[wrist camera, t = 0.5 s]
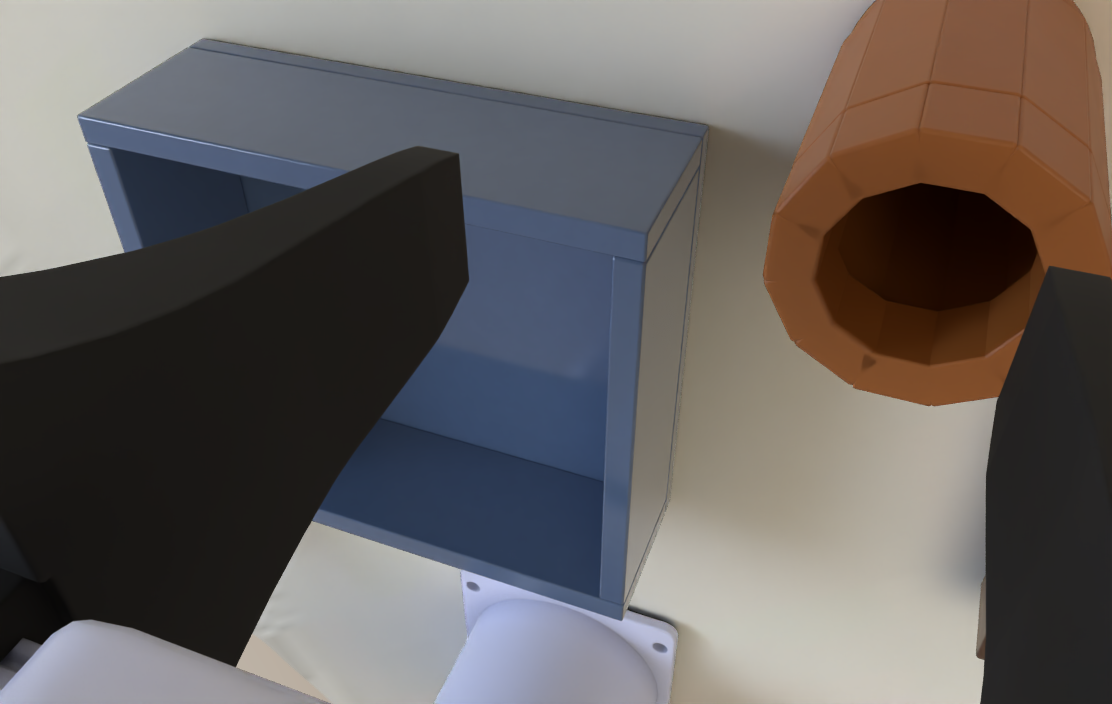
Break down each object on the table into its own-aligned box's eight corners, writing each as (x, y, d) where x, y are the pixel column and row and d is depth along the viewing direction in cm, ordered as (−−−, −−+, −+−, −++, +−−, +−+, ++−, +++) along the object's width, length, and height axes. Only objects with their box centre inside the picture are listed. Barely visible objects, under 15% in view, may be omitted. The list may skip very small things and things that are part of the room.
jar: (1050, 205, 20) (1046, 435, 15) (821, 164, 21) (747, 364, 16) (1136, -25, 17) (1166, 167, 12) (862, -55, 18) (789, 107, 13)
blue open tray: (670, 500, 30) (622, 622, 26) (289, 391, 33) (205, 487, 30) (710, 124, 22) (647, 233, 18) (202, 37, 25) (75, 115, 22)
